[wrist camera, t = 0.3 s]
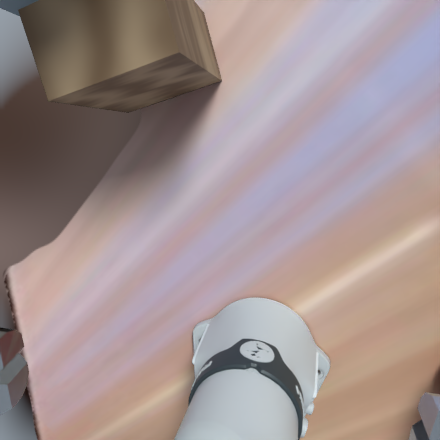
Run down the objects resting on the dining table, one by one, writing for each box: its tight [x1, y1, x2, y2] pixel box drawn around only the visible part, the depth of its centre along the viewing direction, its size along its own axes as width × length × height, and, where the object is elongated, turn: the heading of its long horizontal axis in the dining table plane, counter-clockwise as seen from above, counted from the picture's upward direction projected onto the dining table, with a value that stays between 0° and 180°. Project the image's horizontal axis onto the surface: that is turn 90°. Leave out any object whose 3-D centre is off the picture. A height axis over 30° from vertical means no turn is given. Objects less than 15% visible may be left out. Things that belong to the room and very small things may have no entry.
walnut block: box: [18, 0, 222, 113], centre depth 40 cm, size 13×8×16 cm, turn 107°
